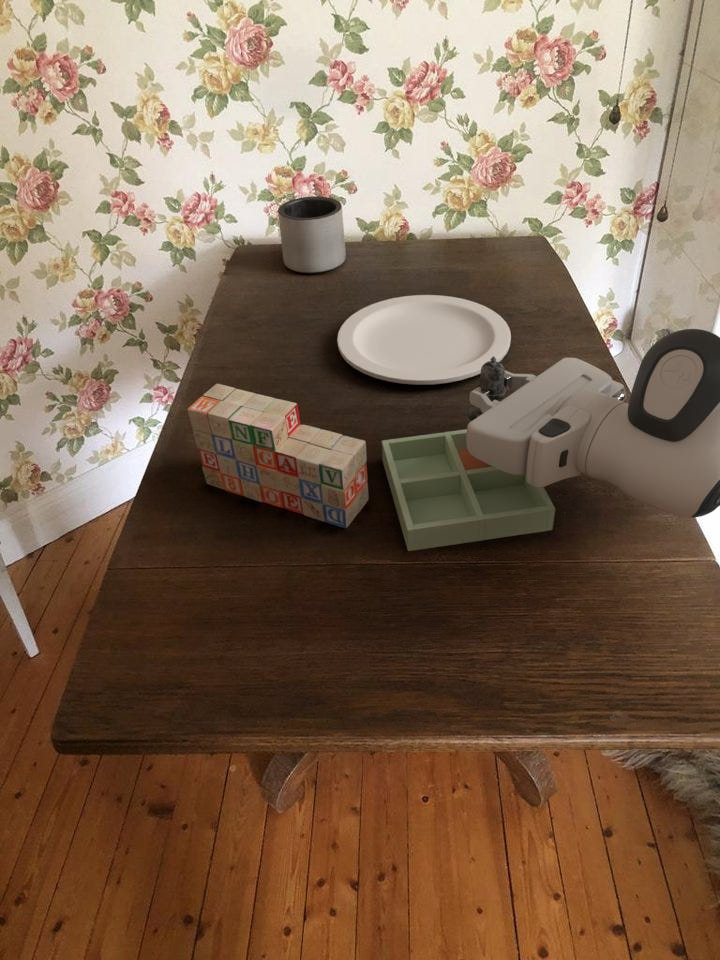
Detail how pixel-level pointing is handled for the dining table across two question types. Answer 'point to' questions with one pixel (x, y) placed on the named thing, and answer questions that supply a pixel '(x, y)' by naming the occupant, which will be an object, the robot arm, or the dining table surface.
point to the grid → (458, 493)
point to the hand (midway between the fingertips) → (485, 386)
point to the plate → (423, 339)
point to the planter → (312, 234)
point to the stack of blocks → (278, 455)
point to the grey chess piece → (489, 385)
